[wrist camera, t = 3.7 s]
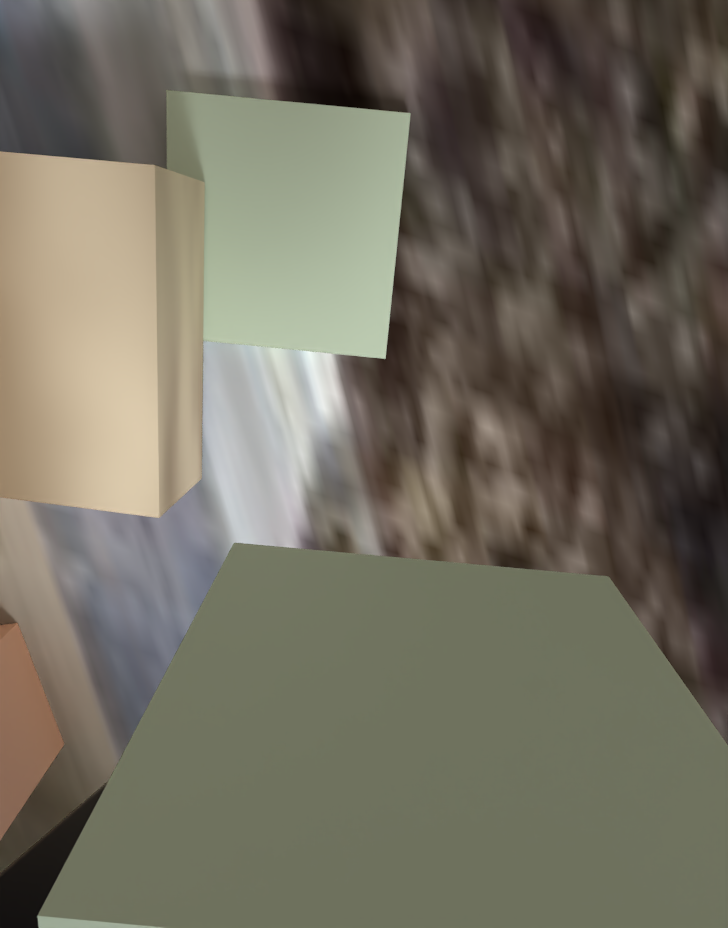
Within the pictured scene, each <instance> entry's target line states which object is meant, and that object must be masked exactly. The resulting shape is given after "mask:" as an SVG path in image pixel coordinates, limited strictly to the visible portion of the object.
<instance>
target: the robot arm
mask: <svg viewBox="0 0 728 928" xmlns="http://www.w3.org/2000/svg"><path fill="white" fill-rule="evenodd" d="M107 783H108V782H107ZM107 783H106V784H104V785H103V786H102V787H101V788H100V789H99V790H97V791H96V792H95V793H94V794H93V795H92V796H90V797H89V798H88V799H87V800H86V801H85V802H83V803H82V804H81V805H80V806H79V807H77V808H76V809H75V810H74V811H73V812H72V813H70V814H69V815H68V816H67V817H66V818H65V819H63V820H62V821H61V822H60V823H59V824H58V825H56V826H55V827H54V828H53V829H52V830H51V831H49V832H48V833H47V834H46V835H45V836H44V837H42V838H41V839H40V840H39V841H38V842H37V843H35V844H34V845H33V846H32V847H31V848H30V849H28V850H27V851H26V852H25V853H24V854H23V855H21V856H20V857H19V858H18V859H17V860H16V861H14V862H13V863H12V864H11V865H10V866H9V867H7V868H6V869H5V870H4V871H3V872H2V873H0V928H39V927H38V917H37V916H38V914H39V912H40V910H41V908H42V906H43V904H44V902H45V900H46V899H47V897H48V895H49V893H50V891H51V889H52V887H53V885H54V883H55V881H56V880H57V878H58V876H59V874H60V872H61V870H62V868H63V866H64V864H65V862H66V861H67V859H68V857H69V855H70V853H71V851H72V849H73V847H74V845H75V844H76V842H77V840H78V838H79V836H80V834H81V832H82V830H83V828H84V826H85V825H86V823H87V821H88V819H89V817H90V815H91V813H92V811H93V809H94V807H95V806H96V804H97V802H98V800H99V798H100V796H101V794H102V792H103V790H104V789H105V787H106V785H107Z"/></svg>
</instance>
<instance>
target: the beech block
mask: <svg viewBox="0 0 728 928" xmlns="http://www.w3.org/2000/svg"><path fill="white" fill-rule="evenodd" d="M204 214H205V182H202V181H200V180H197V179H194V178H191V177H188V176H185V175H182V174H179V173H176V172H174V171H171V170H168V169H165V168H162V167H159V166H156V165H148V164H137V163H125V162H114V161H103V160H91V159H80V158H69V157H57V156H46V155H34V154H23V153H12V152H0V497H3V498H10V499H18V500H26V501H33V502H41V503H49V504H56V505H64V506H72V507H79V508H87V509H95V510H102V511H110V512H118V513H125V514H133V515H141V516H148V517H156V518H160V517H161V516H162V515H163V514H164V513H165V512H166V511H167V510H168V509H169V508H170V507H172V506H173V505H174V504H175V503H176V502H177V501H178V500H179V499H180V498H181V497H182V496H183V495H184V494H186V493H187V492H188V491H189V490H190V489H191V488H192V487H193V486H194V485H195V484H196V483H197V482H198V481H200V480H201V479H202V402H203V308H204Z"/></svg>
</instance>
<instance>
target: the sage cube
mask: <svg viewBox="0 0 728 928" xmlns="http://www.w3.org/2000/svg"><path fill="white" fill-rule="evenodd" d="M37 917H38V927H39V928H728V745H727V744H726V742H725V741H724V740H723V738H722V737H721V735H720V734H719V732H718V731H717V730H716V728H715V727H714V725H713V724H712V723H711V721H710V720H709V718H708V717H707V715H706V714H705V713H704V711H703V710H702V708H701V707H700V706H699V704H698V703H697V701H696V700H695V698H694V697H693V696H692V694H691V693H690V691H689V690H688V688H687V687H686V686H685V684H684V683H683V681H682V680H681V679H680V677H679V676H678V674H677V673H676V671H675V670H674V669H673V667H672V666H671V664H670V663H669V662H668V660H667V659H666V657H665V656H664V654H663V653H662V652H661V650H660V649H659V647H658V646H657V644H656V643H655V642H654V640H653V639H652V637H651V636H650V635H649V633H648V632H647V630H646V629H645V627H644V626H643V625H642V623H641V622H640V620H639V619H638V618H637V616H636V615H635V613H634V612H633V610H632V609H631V608H630V606H629V605H628V603H627V602H626V600H625V599H624V598H623V596H622V595H621V593H620V592H619V591H618V589H617V588H616V586H615V585H614V583H613V582H612V581H611V579H610V578H609V577H608V576H597V575H586V574H575V573H563V572H552V571H541V570H530V569H519V568H508V567H497V566H486V565H475V564H464V563H453V562H442V561H430V560H419V559H408V558H397V557H386V556H375V555H364V554H353V553H342V552H331V551H320V550H309V549H297V548H286V547H275V546H264V545H253V544H242V543H234V544H233V546H232V548H231V550H230V551H229V553H228V555H227V557H226V559H225V561H224V563H223V565H222V567H221V569H220V570H219V572H218V574H217V576H216V578H215V580H214V582H213V584H212V586H211V588H210V589H209V591H208V593H207V595H206V597H205V599H204V601H203V603H202V605H201V606H200V608H199V610H198V612H197V614H196V616H195V618H194V620H193V622H192V624H191V625H190V627H189V629H188V631H187V633H186V635H185V637H184V639H183V641H182V643H181V644H180V646H179V648H178V650H177V652H176V654H175V656H174V658H173V660H172V661H171V663H170V665H169V667H168V669H167V671H166V673H165V675H164V677H163V679H162V680H161V682H160V684H159V686H158V688H157V690H156V692H155V694H154V696H153V697H152V699H151V701H150V703H149V705H148V707H147V709H146V711H145V713H144V715H143V716H142V718H141V720H140V722H139V724H138V726H137V728H136V730H135V732H134V734H133V735H132V737H131V739H130V741H129V743H128V745H127V747H126V749H125V751H124V752H123V754H122V756H121V758H120V760H119V762H118V764H117V766H116V768H115V770H114V771H113V773H112V775H111V777H110V779H109V781H108V783H107V785H106V787H105V789H104V790H103V792H102V794H101V796H100V798H99V800H98V802H97V804H96V806H95V807H94V809H93V811H92V813H91V815H90V817H89V819H88V821H87V823H86V825H85V826H84V828H83V830H82V832H81V834H80V836H79V838H78V840H77V842H76V844H75V845H74V847H73V849H72V851H71V853H70V855H69V857H68V859H67V861H66V862H65V864H64V866H63V868H62V870H61V872H60V874H59V876H58V878H57V880H56V881H55V883H54V885H53V887H52V889H51V891H50V893H49V895H48V897H47V899H46V900H45V902H44V904H43V906H42V908H41V910H40V912H39V914H38V916H37Z"/></svg>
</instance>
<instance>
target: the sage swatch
mask: <svg viewBox="0 0 728 928" xmlns="http://www.w3.org/2000/svg"><path fill="white" fill-rule="evenodd" d="M410 114H411V113H403V112H392V111H382V110H371V109H361V108H350V107H340V106H329V105H319V104H308V103H298V102H287V101H277V100H266V99H256V98H246V97H235V96H225V95H214V94H204V93H193V92H183V91H172V90H166V120H167V169H168V170H171V171H174V172H176V173H179V174H182V175H185V176H188V177H191V178H194V179H197V180H200V181H202V182H205V214H204V308H203V341H210V342H220V343H231V344H241V345H251V346H261V347H271V348H282V349H292V350H302V351H312V352H322V353H332V354H343V355H353V356H363V357H373V358H383V359H385V358H386V348H387V338H388V329H389V319H390V309H391V299H392V290H393V280H394V270H395V260H396V251H397V241H398V231H399V221H400V212H401V202H402V192H403V182H404V173H405V163H406V153H407V143H408V134H409V124H410Z"/></svg>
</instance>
